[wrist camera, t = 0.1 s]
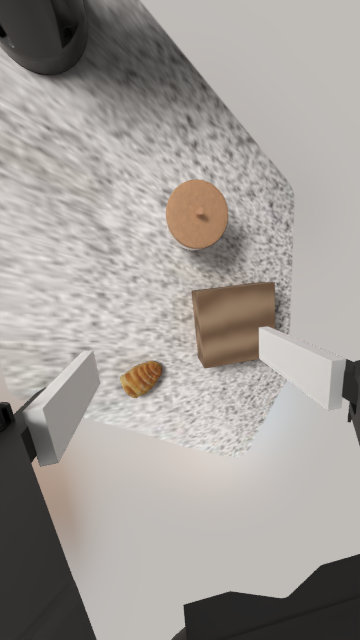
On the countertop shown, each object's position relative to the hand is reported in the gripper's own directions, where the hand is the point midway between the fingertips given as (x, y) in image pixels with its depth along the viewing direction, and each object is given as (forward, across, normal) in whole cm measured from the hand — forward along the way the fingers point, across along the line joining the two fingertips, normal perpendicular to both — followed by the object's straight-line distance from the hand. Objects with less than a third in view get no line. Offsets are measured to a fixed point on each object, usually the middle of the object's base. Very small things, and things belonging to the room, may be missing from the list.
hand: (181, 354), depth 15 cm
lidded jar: (+28, +7, +16) cm, 33 cm away
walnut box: (+28, +15, -5) cm, 32 cm away
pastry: (+28, -7, -16) cm, 33 cm away
